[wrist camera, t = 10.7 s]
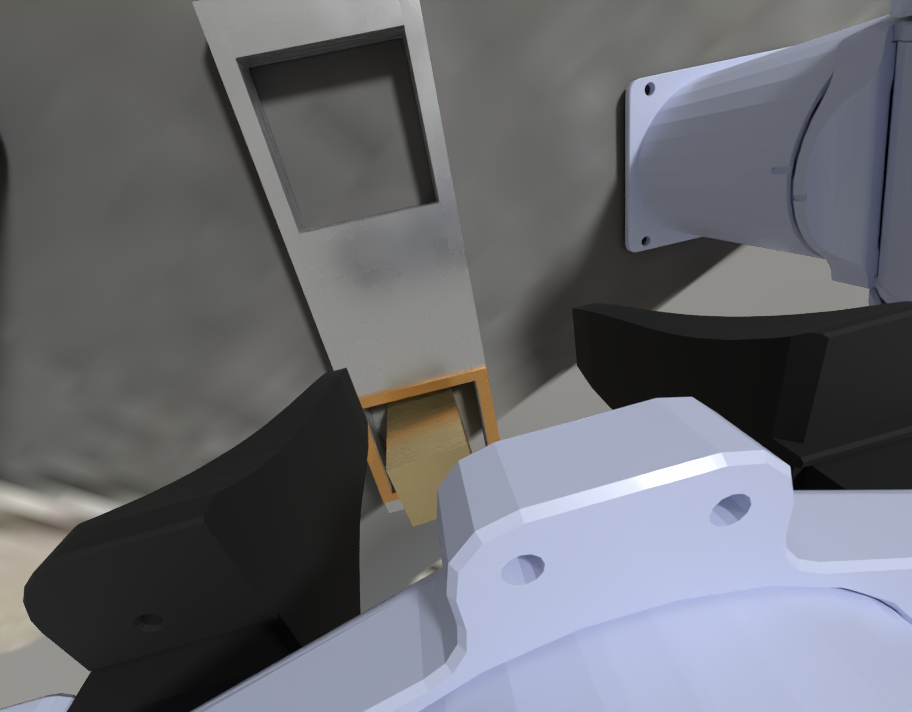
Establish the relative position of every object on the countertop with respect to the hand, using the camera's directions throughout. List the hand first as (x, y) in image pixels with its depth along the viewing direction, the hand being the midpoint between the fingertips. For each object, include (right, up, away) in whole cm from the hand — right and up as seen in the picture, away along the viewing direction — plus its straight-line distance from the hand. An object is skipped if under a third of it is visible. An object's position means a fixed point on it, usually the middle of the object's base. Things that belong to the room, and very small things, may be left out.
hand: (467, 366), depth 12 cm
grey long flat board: (-4, +3, +9) cm, 10 cm away
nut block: (-2, -4, +12) cm, 13 cm away
